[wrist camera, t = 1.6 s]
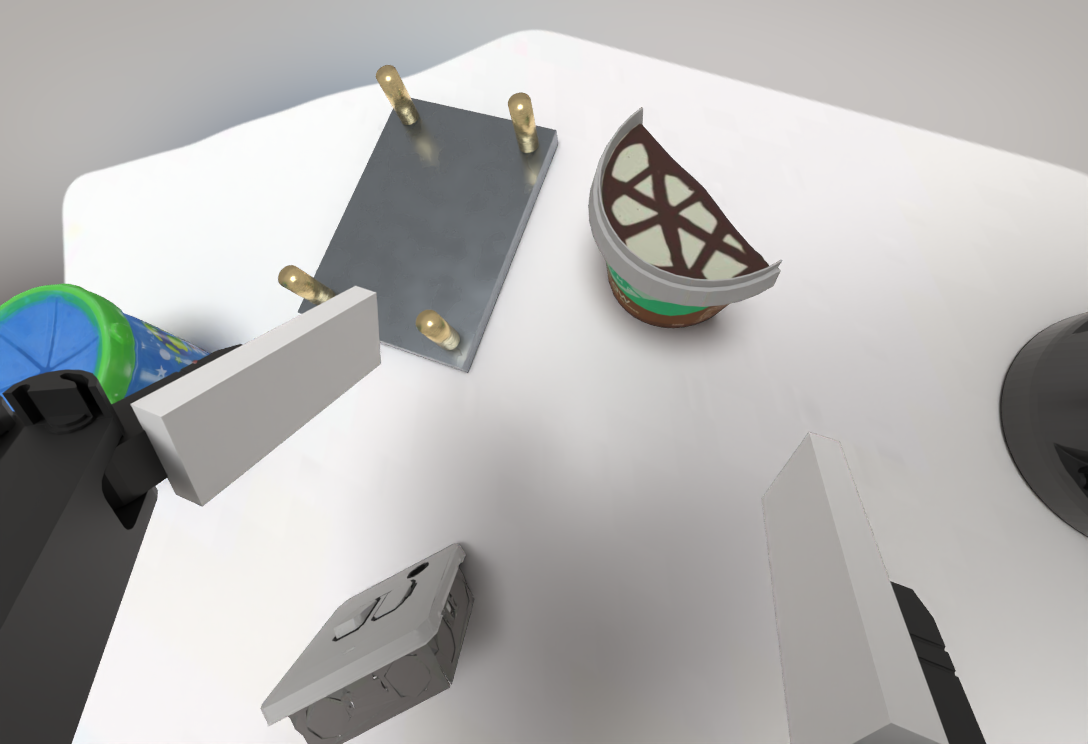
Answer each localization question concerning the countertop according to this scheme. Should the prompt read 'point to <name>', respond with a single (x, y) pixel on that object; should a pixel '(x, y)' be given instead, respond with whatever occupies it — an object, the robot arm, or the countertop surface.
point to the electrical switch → (378, 653)
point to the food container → (667, 236)
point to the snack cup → (85, 341)
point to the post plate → (434, 222)
